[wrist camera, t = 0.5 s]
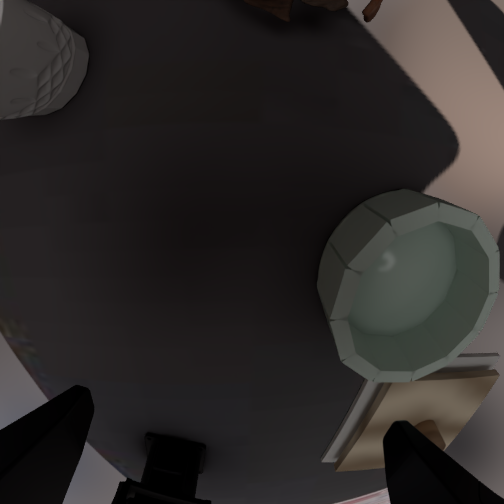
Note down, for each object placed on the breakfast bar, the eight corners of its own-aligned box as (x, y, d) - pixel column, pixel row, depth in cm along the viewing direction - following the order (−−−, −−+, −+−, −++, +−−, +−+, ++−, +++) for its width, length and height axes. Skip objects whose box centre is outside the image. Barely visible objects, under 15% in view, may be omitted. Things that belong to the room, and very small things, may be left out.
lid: (431, 447, 28) (444, 477, 24) (332, 457, 28) (339, 495, 23) (490, 363, 24) (514, 394, 19) (385, 365, 23) (406, 409, 18)
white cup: (112, 24, 15) (27, -30, 6) (78, 130, 18) (-29, 136, 8) (35, 24, 14) (-51, -3, 5) (7, 116, 17) (-88, 124, 8)
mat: (431, 448, 29) (433, 451, 29) (320, 458, 29) (321, 462, 28) (497, 352, 24) (500, 355, 23) (377, 351, 23) (379, 356, 23)
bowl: (429, 344, 23) (454, 380, 18) (299, 334, 23) (308, 379, 18) (478, 211, 19) (519, 230, 14) (340, 171, 19) (367, 181, 14)
